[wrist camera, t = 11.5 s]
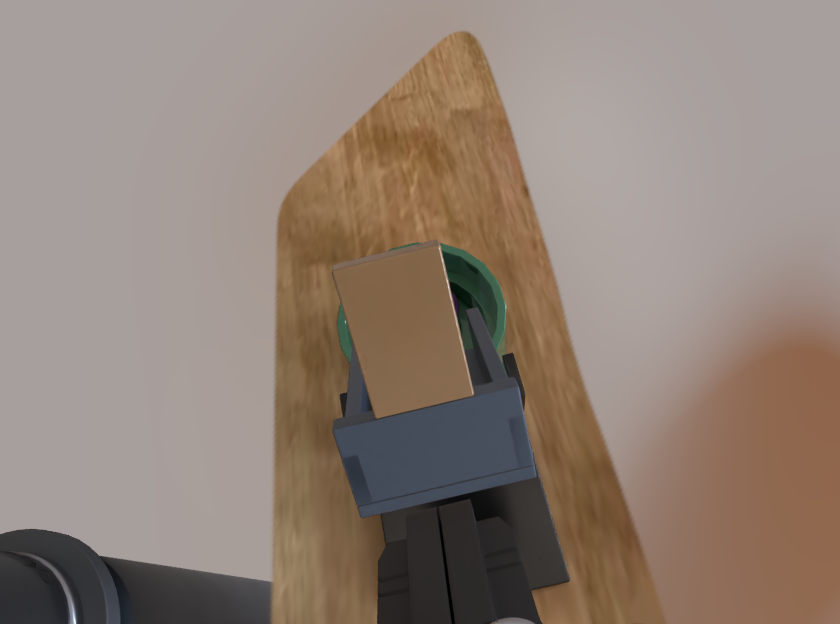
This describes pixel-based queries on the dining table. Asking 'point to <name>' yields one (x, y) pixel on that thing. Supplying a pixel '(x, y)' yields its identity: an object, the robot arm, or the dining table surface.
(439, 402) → the chute
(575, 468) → the dining table surface
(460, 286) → the bowl
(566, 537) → the dining table surface
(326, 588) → the dining table surface
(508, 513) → the stand
